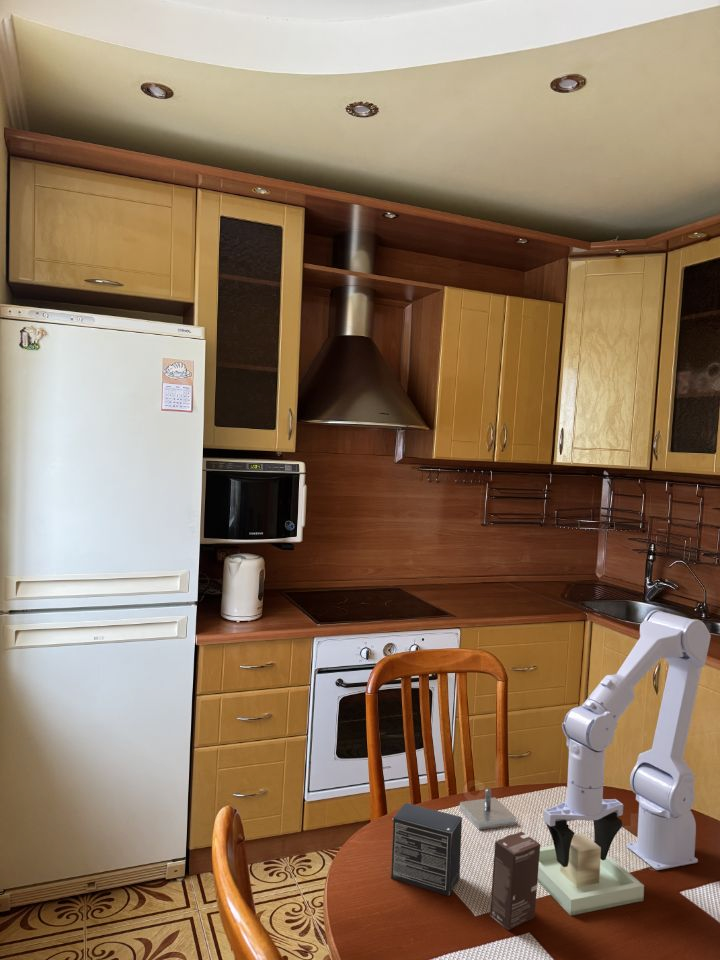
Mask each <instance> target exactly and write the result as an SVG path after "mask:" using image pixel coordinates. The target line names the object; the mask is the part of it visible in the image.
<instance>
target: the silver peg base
mask: <svg viewBox="0 0 720 960" xmlns="http://www.w3.org/2000/svg"><path fill="white" fill-rule="evenodd" d="M459 810H460V811H461V812H462V813H463V815H464V816H465V817H466V818H467V819H468V820H469V821H470V823H472V824H473V826H475V828H476V829H477V830H478V831H481V830H487V829H494V828H501V827H507V826H515V825H516V820H517V816H515V814H513V813H512V812H511V811H510V810H509V809H508V808H507V807H506V806H505V805H504V804H503V803H502V802H501V801H499V800H498V798H496V797H492V789H491V788H490V787H486V788H484V798H481V799H479V798H478V799H473V800H465V801H460V802H459Z"/></svg>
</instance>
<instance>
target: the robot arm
mask: <svg viewBox="0 0 720 960" xmlns="http://www.w3.org/2000/svg"><path fill="white" fill-rule="evenodd" d="M639 624H640V625H639V638H638V640H637V641H636V643H635V645H634V646H633V647H632V649H631V650H630V652H629V653H628V656H626V658H625V660H624V661H623V663H622V665H621V666H620V667H619V669H618V670H617V672H616V673H615V674H607V675H605V676H604V677H603V679H601V681H600V682H599V684H598V685H597V686H596V687H595V688H594V689H593V691H592V692H591V693H590V694H589V696H588V698H587V699H586V700H585V701H584V702H583V703H582V704H581V706H580V705H579V706H576V707H574V708H571V709H570V710H569V711H568V712H567V713H566V715H565V717H564V721H563V722H562V723H561V727H562V729H561V730H562V732H563V735H565V738H566V746H567V748H568V762H567V763H568V765H567V766H568V767H567V785H566V787H567V788H566V796H565V801H562V802H560V803H558V804H556V805H554V806H552V807H549V808H545V809H543V819H542V820H543V822H544V823H545V825H546V827H547V829H548V831H549V833H550V836H551V839H552V843H553V845H554V847H555V852H556V857H557V861H558V862H559V863H560V864H561V865H562V866H563V867H567V866H568V862H569V851H570V845H571V841H572V838H573V836H574V835H576V834H575V832H574V831H573V830H572V829H570V827H569V824H568V822H572V821H590V822H591V821H592V822H593V829H594V830H593V831H594V833H593V834H594V837H593V838H594V840H593V842H595V843H596V844H597V845H598V846H599V847H601V856H600V859H601V860H606V857H607V855H608V853H609V852H610V851H609V850H610V848H611V845H612V843H613V840H614V839H615V838H616V835H617V834H618V833H619V831H620V830H621V829H622V827H623V821H622V819H621V818H619V817H620V816H623V814H624V804H623V803H622V802H621V801H619V800H618V799H616V798H612V799H606V798H605V799H604V798H603V797H604V795H603V794H604V775H605V755H606V749H608V747H609V746H610V745H612V742H613V741H614V738H615V733H616V729H617V728H618V725H619V723H618V721H619V719H620V718H621V717H622V716H623V714H624V713H625V711H626V710H627V709H628V707H629V706H630V705H631V704H632V702H633V701H634V700H635V689H634V688H635V686H636V685H637V684H638V683H639V682H640V681H641V680H642V679H643V678H644V677H645V675H647V674H648V673H649V671H650V670H652V668H654V666H655V665H656V664H657V663H658V662H659V661H660V660H661V659H665V661H666V662H667V664H668V670H667V675H666V680H665V684H664V689H663V694H662V700H661V702H660V703H661V704H660V708H659V713H658V717H657V722H656V728H655V732H654V737H653V742H652V747H651V748H650V749H648V750H646V751H644V752H641V753H639V754H638V757H637V760H636V763H635V765H634V767H633V768H632V770H631V773H630V777H629V784H630V785H629V786H630V789H631V791H632V792H633V793H634V794H635V801H637V802H638V819H637V821H638V822H637V839H636V840H637V841H633V842H626V844H625V847H627V848H628V850H630V851H632V853H634V854H636V855H637V857H639V858H640V859H642V860H643V862H645V863H647V864H648V866H650V867H652V869H654V870H656V871H659V870H665V869H670V868H676V867H680V866H686V865H687V866H688V865H691V864H696V863H698V862H699V859H698V858H697V857H695V851H696V835H697V834H696V833H697V824H696V819H695V816H694V814H693V812H692V807H693V805H694V803H695V798H696V796H695V786H694V785H695V779H696V775H695V774H694V772H693V770H692V769H691V768H690V766H689V765H688V763H687V762H686V760H685V759H684V756H685V753H686V752H685V751H686V746H687V742H688V738H689V736H688V735H689V732H690V728H691V722H692V717H693V713H694V708H695V702H696V698H697V693H698V688H699V682H700V679H701V673H702V668H704V667H705V665H706V661H707V656H708V651H709V648H710V642H711V637H712V635H711V634H710V631H709V630H708V628H707V625H706V624H705V623H704V622H703V621H702V620H699V619H692V618H688V617H685V616H682V615H681V616H680V615H676V614H673V613H669V612H664V611H662V610H660V609H653V610H651V611H650V612H648V613H647V615H646V616H645V618H644V620H643V621H642V622H641V623H639ZM618 816H619V817H618Z"/></svg>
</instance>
